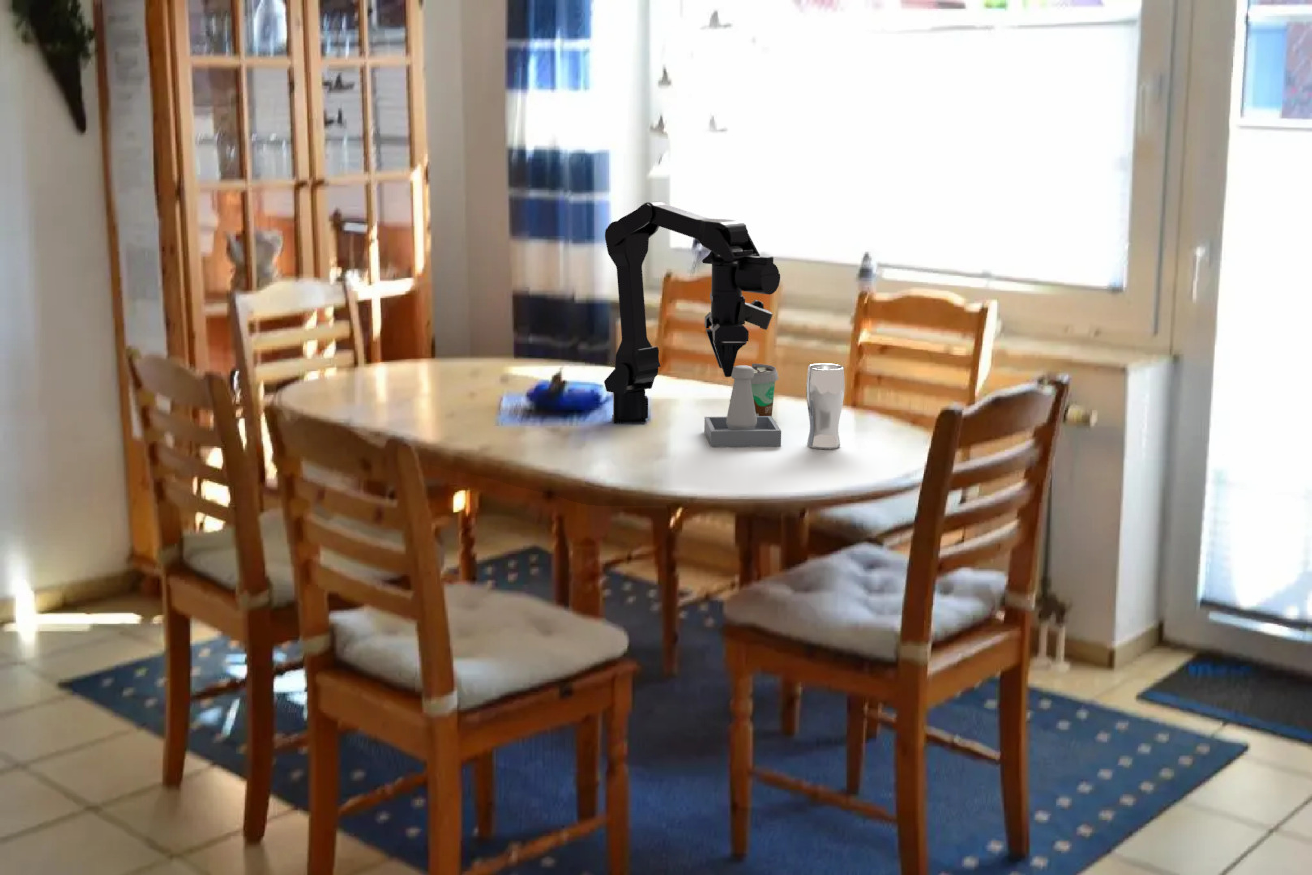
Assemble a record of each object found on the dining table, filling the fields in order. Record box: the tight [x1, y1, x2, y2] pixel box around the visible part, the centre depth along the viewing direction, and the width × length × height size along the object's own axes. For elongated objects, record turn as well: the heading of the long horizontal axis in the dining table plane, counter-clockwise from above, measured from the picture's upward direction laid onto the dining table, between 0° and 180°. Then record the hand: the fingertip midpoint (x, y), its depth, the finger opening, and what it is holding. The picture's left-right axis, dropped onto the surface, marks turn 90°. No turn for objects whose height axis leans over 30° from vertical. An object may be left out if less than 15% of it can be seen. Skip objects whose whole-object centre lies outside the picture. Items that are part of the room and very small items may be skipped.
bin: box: [703, 415, 782, 448], centre depth 296 cm, size 13×13×3 cm
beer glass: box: [805, 363, 845, 451], centre depth 289 cm, size 7×7×15 cm
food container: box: [751, 362, 780, 417], centre depth 315 cm, size 12×6×10 cm, turn 168°
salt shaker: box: [726, 364, 757, 430], centre depth 295 cm, size 6×6×13 cm
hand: (725, 372), depth 293 cm, fingers open, 9 cm apart
